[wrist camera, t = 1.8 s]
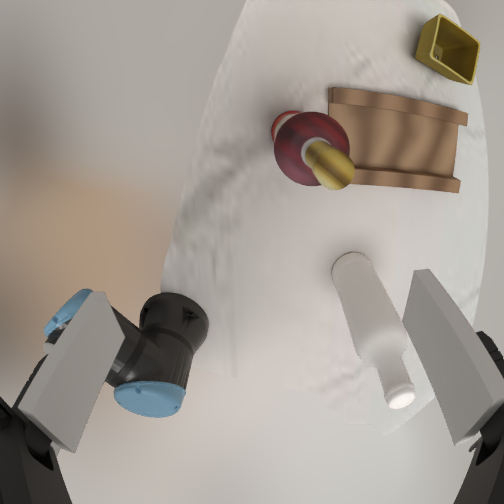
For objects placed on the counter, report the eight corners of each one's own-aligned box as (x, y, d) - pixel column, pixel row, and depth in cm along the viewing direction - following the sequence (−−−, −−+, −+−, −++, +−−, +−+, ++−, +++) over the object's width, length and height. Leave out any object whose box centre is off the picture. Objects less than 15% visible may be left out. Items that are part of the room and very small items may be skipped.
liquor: (296, 163, 45) (338, 241, 20) (260, 135, 43) (256, 178, 19) (325, 129, 42) (405, 166, 18) (289, 100, 40) (327, 92, 16)
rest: (325, 178, 46) (330, 183, 43) (328, 87, 39) (333, 86, 36) (449, 188, 45) (458, 193, 42) (457, 111, 38) (467, 112, 35)
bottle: (349, 243, 51) (410, 375, 25) (378, 263, 53) (443, 388, 27) (323, 275, 55) (357, 413, 28) (352, 292, 57) (395, 422, 30)
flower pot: (443, 85, 36) (472, 86, 28) (403, 62, 35) (429, 57, 27) (452, 47, 32) (481, 42, 24) (412, 22, 31) (439, 12, 23)
